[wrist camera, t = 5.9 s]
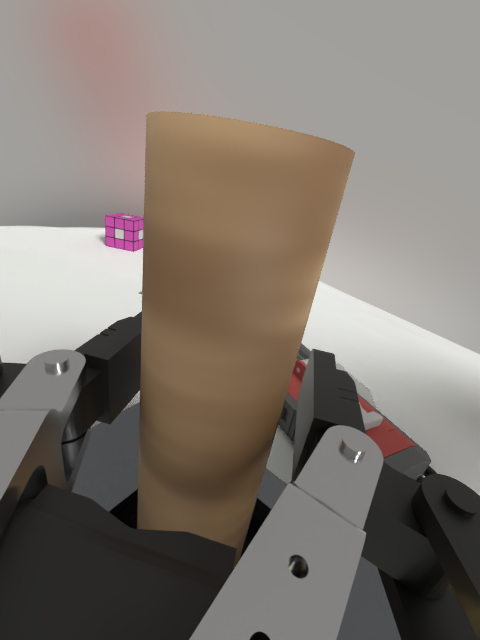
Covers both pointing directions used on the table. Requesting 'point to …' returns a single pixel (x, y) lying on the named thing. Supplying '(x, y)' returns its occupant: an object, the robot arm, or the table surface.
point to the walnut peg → (224, 308)
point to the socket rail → (122, 502)
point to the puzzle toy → (124, 231)
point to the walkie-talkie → (383, 432)
